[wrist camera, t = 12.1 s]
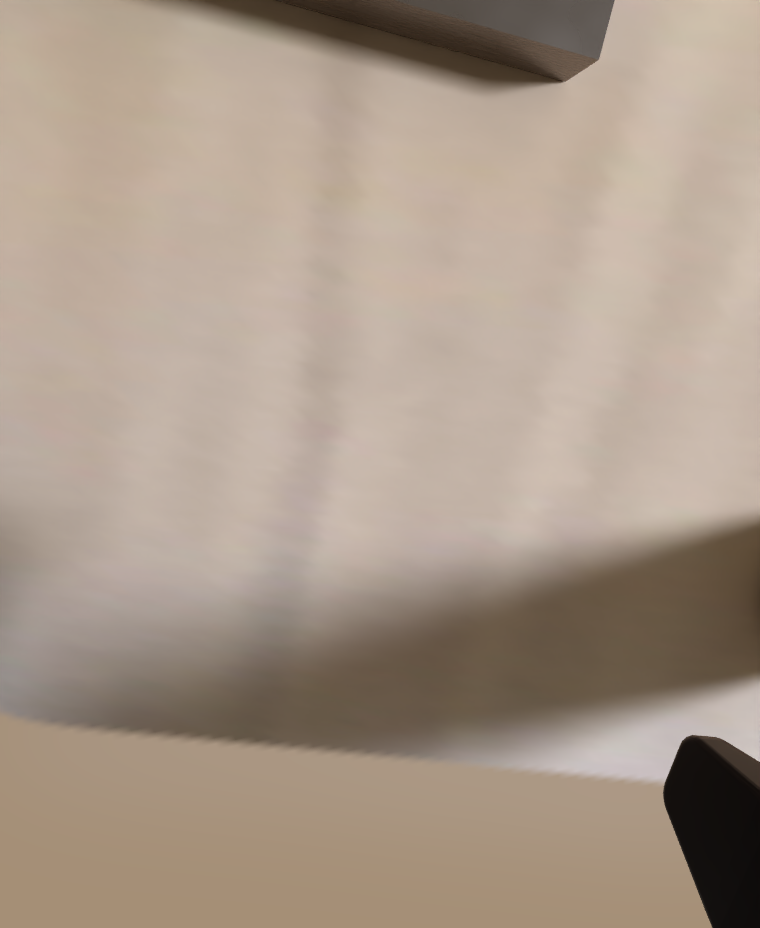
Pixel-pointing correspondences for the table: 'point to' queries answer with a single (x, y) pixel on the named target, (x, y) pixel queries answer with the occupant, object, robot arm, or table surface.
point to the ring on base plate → (491, 28)
